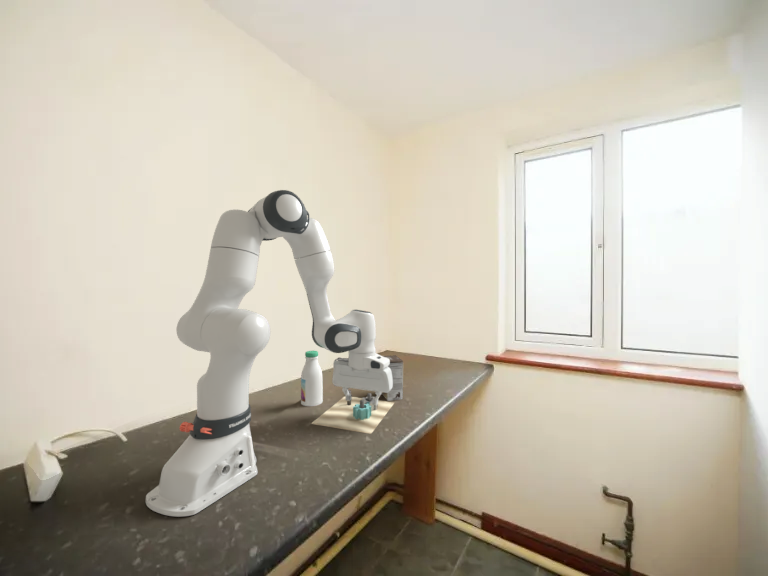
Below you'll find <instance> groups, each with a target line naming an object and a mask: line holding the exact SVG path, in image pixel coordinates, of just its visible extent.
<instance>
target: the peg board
mask: <svg viewBox="0 0 768 576" xmlns="http://www.w3.org/2000/svg"><path fill="white" fill-rule="evenodd" d="M348 391H349V394H352V390H351V389H348ZM366 397H367V401H371V397H372V393H371V392H367V396H366ZM362 398H363V397H357V396H352V399H351V400H350V401H346V400H345V395H344V396H343V397H342V398H341V399H340V400H338V401H337V402H336V403H335V404H333V405H332V406H331V407H330V408H328V409H327V410H326V411H324V412H323V413H322V414H320V416H318V417H317V418H316V419H314V420H313V421H312V422H311V423H310V424H311V425H316V426H322V427H328V428H335V429H339V430H346V431H351V432H357V433H364V434H368V435H372V433H373V432H374V431H375V430H376V428H377V427H378V426H379V424H380V423H381V422H382V420H383V419H384V418H385V417H386V415H387V413H388V412H389V411H390V409H392V407H393V406H394V404H395V401H387V400H380V399H378V408H377V410H372V411H371V416H370V418H368V419H367V418H364V420H361V419H359V418H358V419H355V417H353V406H355V404H360V408H364V400H362Z"/></svg>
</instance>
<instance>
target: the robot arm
mask: <svg viewBox="0 0 768 576" xmlns="http://www.w3.org/2000/svg"><path fill="white" fill-rule="evenodd" d="M277 238H283V239H284V240H285V241H286V242H287V243H288V245H289V246H290V248H291V249H290V250H291V252H292V255H293V259H294V262H295V265H296V268H297V271H298V274H299V276H300V279H301V281H302V284H303V287H304V290H305V291H306V292H305V293H306V297H307V301H308V304H309V308H310V312H311V318H312V325H311V337H312V340H313V342H314V343H315V345H317V346H318V347H319V348H323V349H325V350H327V351H329V352H331V353H334V354H341V353H346V352H348V358H347V357H337V358H335V359H334V360H333V364H332V365H333V372H332V384H333V385H334V387H340V388H342V389H341V390H342V393H343V394H344V396H345V400H346V401H350V400H351V399H352V397H353V395H352V393H351V394H349V391H348V390H350V389H356V390H361V391H362V390H363V391H369V392H370V391H371V392H375V393H374V394H375V395H376V396H375V398H373V399H372V405H377V404H378V400H379V398H380V397H381V395H382V392H384V393H388V392H389V391H390V390H391V389H392V387H393V379H392V371H391V369H390V368H389V367H388V366H389V364H390V360H389V359H388V358H385V357H383V356H384V355H381V354H378V353H377V349H376V344H375V342H376V339H377V329H376V327H377V326H376V325H377V324H376V318H375V315H374V314H373V312H370V311H366V310H361V309H352V310H350V312H349V313H348V314H346V315H344V316H342V317H340V318H338V319H335V317H334V316H333V314H332V310H331V306H330V302H329V297H328V293H327V292H328V291H327V290H328V286H329V282H330V281H331V280H332V278H333V277H334V274H335V264H334V263H335V262H334V256H333V254H332V251H331V250H332V249H331V246H330V242H329V241H328V238H327V236H326V233H325V231H324V229H323V227H322V225H321V223H320V221H318V220H317V219H315V218H313V217H310V212H309V211H308V210H307V208H306V207H305V204H304V203H303V200H301V198H300V197H299V196H298V195H297V194H296V193H294V192H293V191H290V190H288V189H280V190H275V191H273V192H270V193H269V194H268V195H267V196H264V197H263V198H260V200H258V201H257V202H256V203H255V204H254V205H253V206H252V207H251V208H250V209H249V210H247V211H246V210H243V209H229V210H226V211H225V212H223V213H222V214H221V216H220V217H219V220H218V222H217V224H216V226H215V229H214V232H213V236H212V240H211V244H210V249H209V250H210V251H209V255H208V261H207V265H206V266H207V267H206V271H205V275H204V276H205V277H204V280H203V283H202V286H200V290H199V292H198V294H197V296H196V297H195V300H194V301H193V302H192V305H191V307H189V310H187V312H185V313H184V314H183V315H182V316H181V317H180V318H179V319H178V321H177V325H176V336H177V338H178V340H179V341H180V342H181V343H182V344H183V345H186V347H188V348H191V349H192V350H195V351H199V352H204V353H206V352H207V353H210V359H209V364H208V367H207V370H206V372H205V373H204V374H202V375H201V376H200V378H198V380H197V382H196V383H197V384H196V411H197V413H196V414H195V416H194V419H193V421H192V422H188V421H183V422H182V423H181V424H180V425H179V431H180V432H184V433H189V436H188V437H187V438H186V439H185V440H184V441H183V442H182V444H181V445H180V447H178V449H177V450H176V451H175V453H173V455H171V457H170V458H169V459H168V460H167V462H166V463H165V464H164V465H163V467H162V468H161V474H160V478H159V484H157V486H155V487H154V488H153V489H152V490H150V491H149V492H148V493H147V494H146V495H145V505H146V506H147V508H149V509H150V510H152V511H153V512H156V513H158V514H159V515H160V514H161V515H164V516H169V517H176V518H177V517H178V518H179V517H189V516H193V515H196V514H198V513H200V512H201V511H202V510H204V509H205V508H207V507H209V506H210V505H212V504H213V503H216V502H217V501H218V500H219V499H221V498H222V497H223V498H224V496H226V495H228V494H229V493H231V492H232V491H234V490H235V489H238V488H239V487H240V486H242V485H243V484H245V483H246V482H247V481H249V480H251V479H253V478H255V477H256V476H257V475H258V472H259V471H258V466H257V456H256V453H255V450H254V445H253V438H252V432H251V425H250V422H251V421H252V412H251V411H252V409H251V408H252V407H251V404H249V400H250V399H249V397H250V396H249V395H250V394H249V393H250V375H251V371H252V367H253V365H254V361H255V360H256V358H257V356H258V355H259V354H260V353H261V352H262V351H263V350H265V349H266V347H267V345H268V343H269V341H270V339H271V332H272V331H271V325H270V323H269V320H268V319H267V318H266V317H265V316H264V315H262V314H260V313H257V312H255V311H253V310H249V309H246V308H239V307H240V304H241V302H242V300H243V299H244V297H245V296H246V295H247V294H248V293H249V292H251V291H252V290H253V289H254V287H255V284H256V279H257V273H258V265H259V258H260V250H261V245H262V242H263V241H265V242H266V241H272V240H275V239H277Z"/></svg>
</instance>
